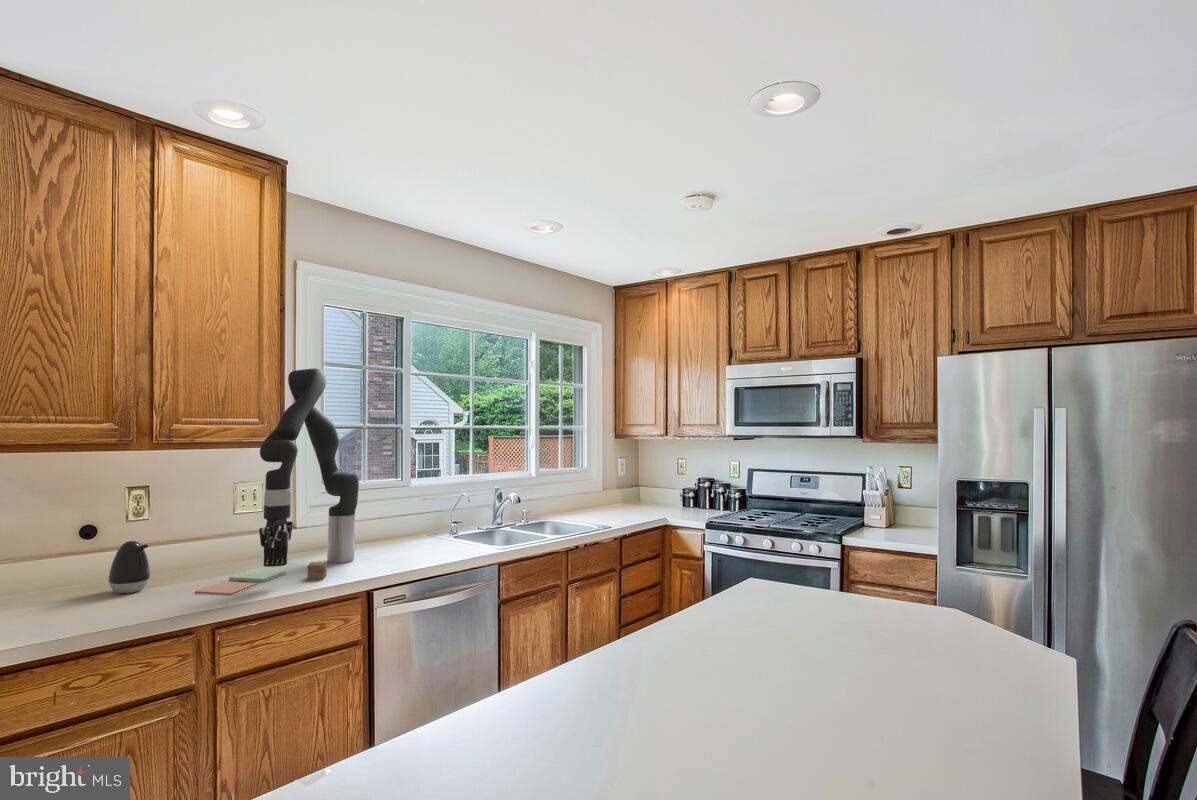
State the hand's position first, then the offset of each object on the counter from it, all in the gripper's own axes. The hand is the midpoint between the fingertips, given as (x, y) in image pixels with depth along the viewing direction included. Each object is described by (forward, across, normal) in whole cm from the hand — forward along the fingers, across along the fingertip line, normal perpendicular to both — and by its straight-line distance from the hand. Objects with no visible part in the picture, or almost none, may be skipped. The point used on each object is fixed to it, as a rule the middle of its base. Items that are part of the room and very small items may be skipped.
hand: (275, 557), depth 201 cm
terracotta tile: (+10, +4, -13) cm, 17 cm away
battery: (+3, 0, 0) cm, 3 cm away
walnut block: (+10, -14, +6) cm, 18 cm away
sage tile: (+10, -11, -13) cm, 19 cm away
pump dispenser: (+10, +12, -39) cm, 42 cm away
